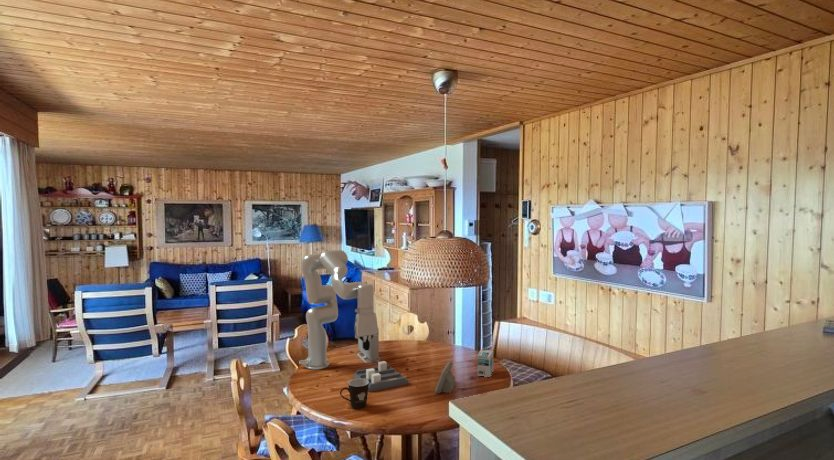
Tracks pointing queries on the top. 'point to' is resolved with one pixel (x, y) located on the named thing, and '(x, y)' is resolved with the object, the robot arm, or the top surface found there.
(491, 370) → the light bulb box
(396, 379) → the switch panel
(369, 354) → the network device
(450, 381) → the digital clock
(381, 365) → the far tab
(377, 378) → the near tab
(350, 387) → the coffee mug
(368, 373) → the middle tab
